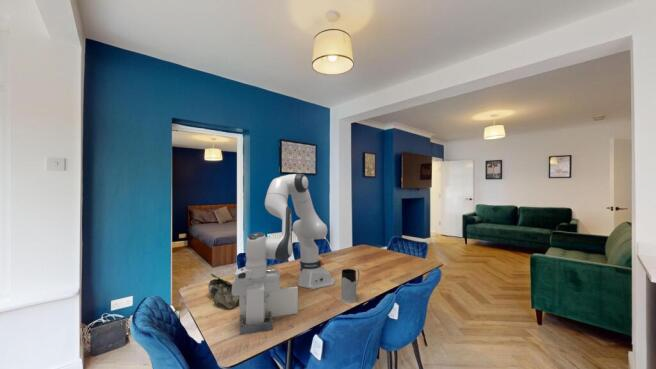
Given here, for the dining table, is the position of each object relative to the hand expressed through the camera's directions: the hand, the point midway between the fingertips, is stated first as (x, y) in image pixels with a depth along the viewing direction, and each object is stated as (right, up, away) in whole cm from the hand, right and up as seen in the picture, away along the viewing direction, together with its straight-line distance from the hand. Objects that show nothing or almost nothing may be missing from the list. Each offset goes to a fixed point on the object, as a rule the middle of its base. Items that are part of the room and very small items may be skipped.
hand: (256, 302), depth 115 cm
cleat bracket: (0, -9, -2) cm, 9 cm away
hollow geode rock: (-23, -10, +25) cm, 35 cm away
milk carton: (0, -8, 0) cm, 8 cm away
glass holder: (+44, -10, +27) cm, 52 cm away
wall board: (+4, -9, +6) cm, 12 cm away
